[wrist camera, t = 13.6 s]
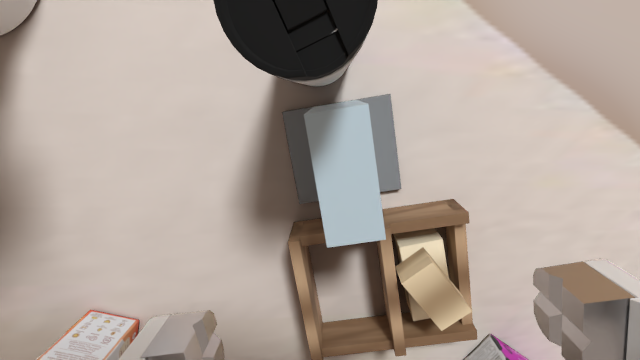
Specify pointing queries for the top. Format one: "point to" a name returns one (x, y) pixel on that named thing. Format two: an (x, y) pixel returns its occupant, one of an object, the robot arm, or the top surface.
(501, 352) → the candy bar box
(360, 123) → the board
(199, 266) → the top surface
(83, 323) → the cracker box
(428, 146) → the top surface
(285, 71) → the travel mug
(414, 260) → the upper offcut
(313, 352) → the rack
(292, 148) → the mat
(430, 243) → the block
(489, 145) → the top surface
